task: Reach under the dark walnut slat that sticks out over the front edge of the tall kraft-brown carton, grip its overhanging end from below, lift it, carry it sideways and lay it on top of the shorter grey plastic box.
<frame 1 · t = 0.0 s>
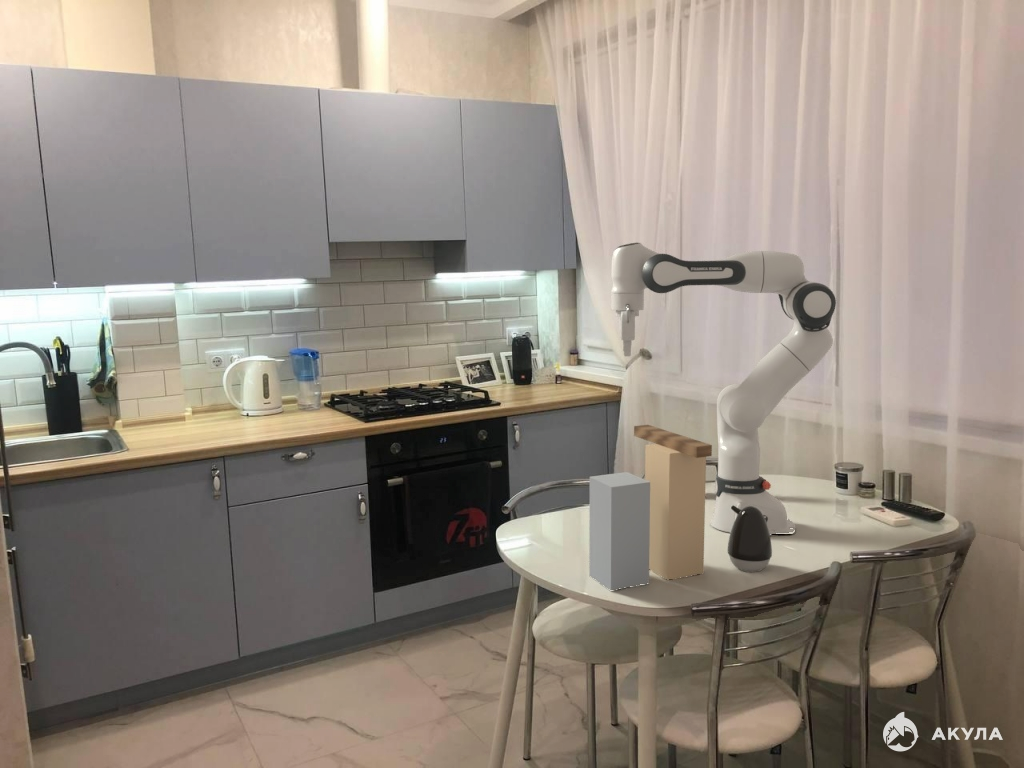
hand: (626, 354, 223), 48 cm above the table, tool pointing down, fingers open, 8 cm apart
pump dispenser: (748, 568, 195), on the table
carton: (673, 569, 194), on the table
slat: (670, 445, 192), point 30 cm above the table, touching carton
grey box: (618, 580, 189), on the table
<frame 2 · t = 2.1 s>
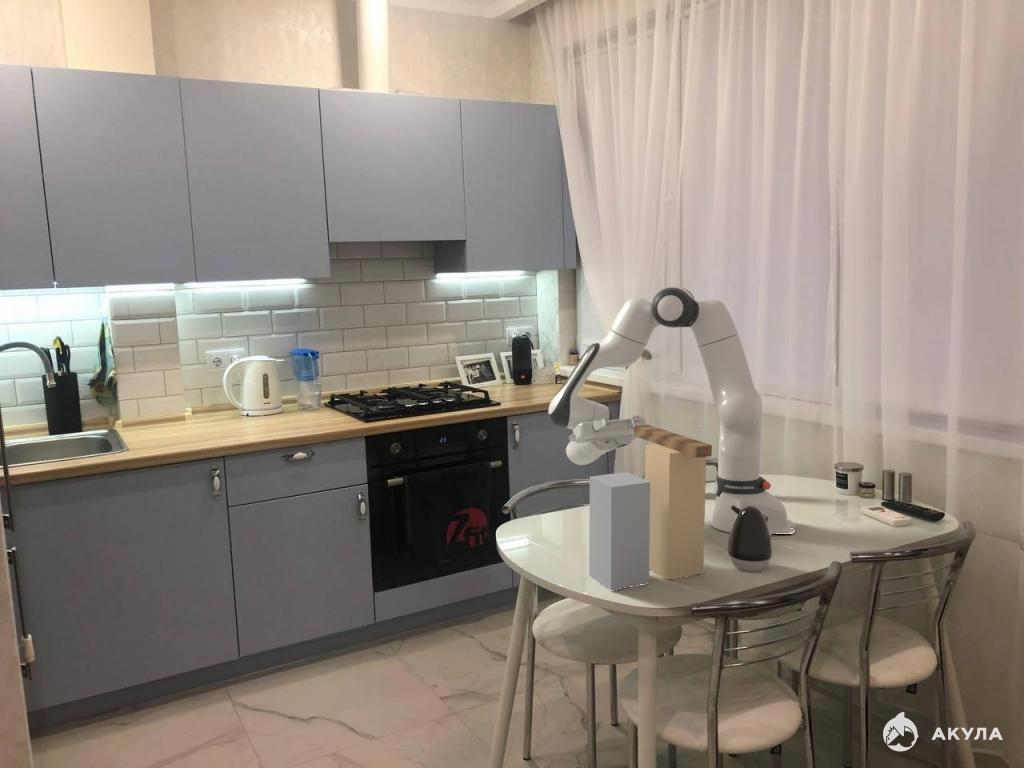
hand: (623, 419, 211), 32 cm above the table, tool pointing upward, fingers open, 8 cm apart
nothing on the table moved.
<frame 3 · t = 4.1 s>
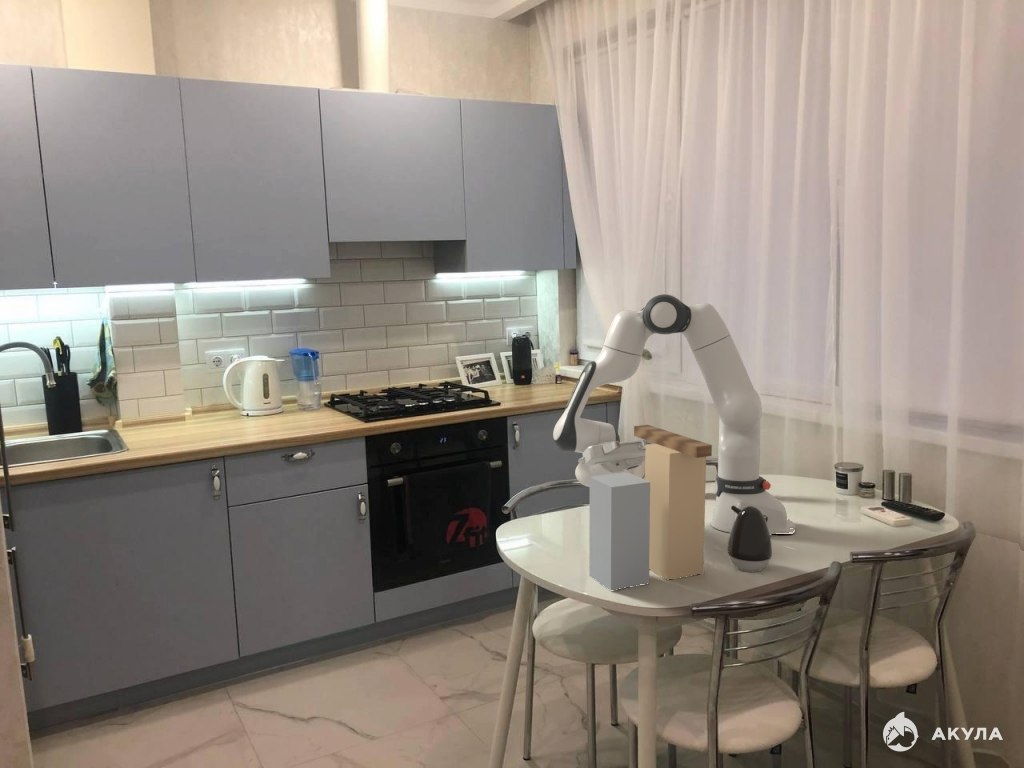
hand: (633, 442, 207), 28 cm above the table, tool pointing upward, fingers open, 8 cm apart
nothing on the table moved.
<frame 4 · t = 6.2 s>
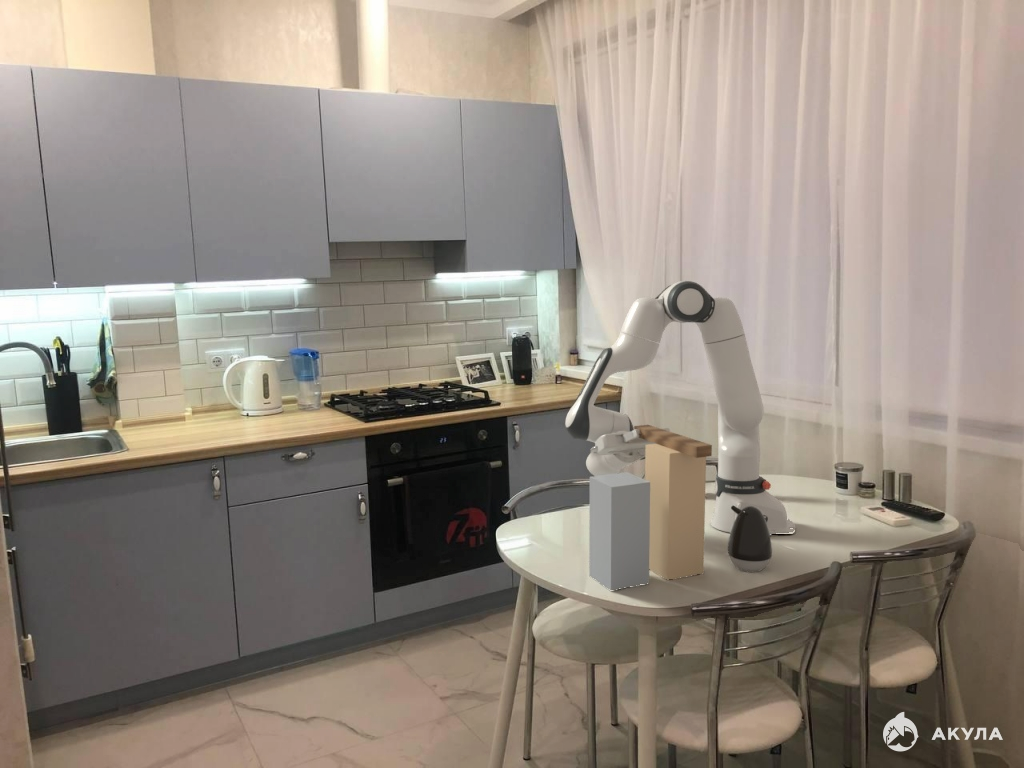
hand: (648, 430, 201), 32 cm above the table, tool pointing upward, fingers closed on slat, 4 cm apart
slat: (670, 445, 192), point 30 cm above the table, touching carton, gripper
everything else where it was.
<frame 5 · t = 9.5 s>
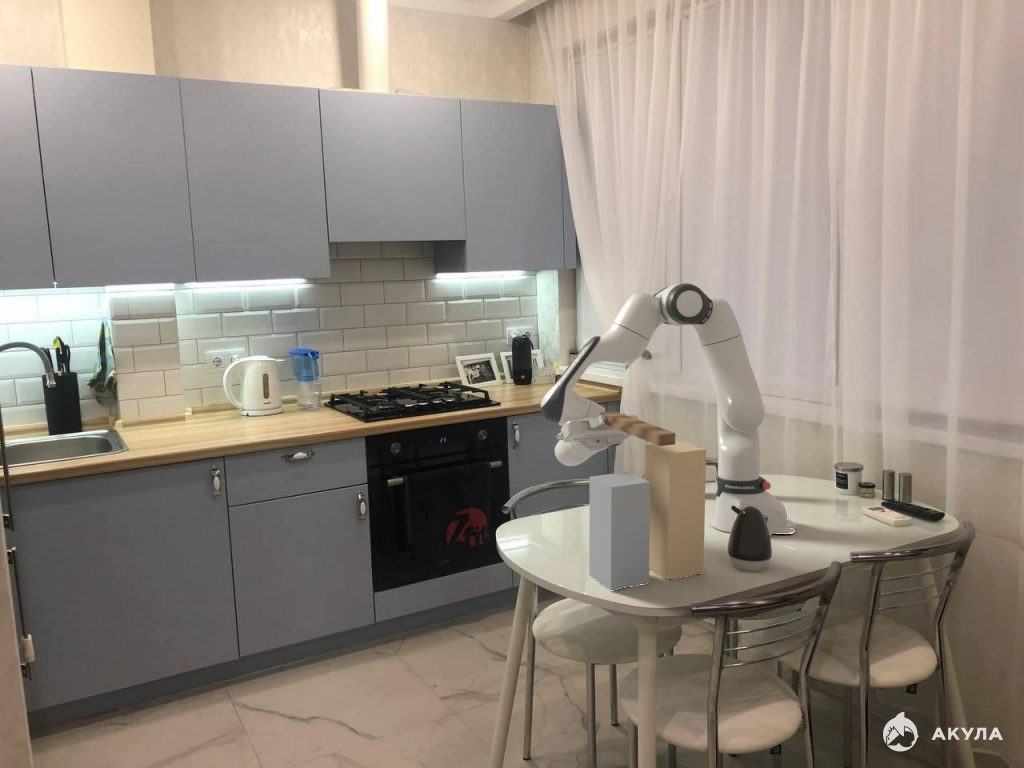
hand: (614, 417, 196), 36 cm above the table, tool pointing upward, fingers closed on slat, 4 cm apart
slat: (635, 432, 188), point 34 cm above the table, touching gripper
everything else where it was.
when the fingers open (27 cm above the table, at t = 13.1 s): slat drops 1 cm, resting on grey box.
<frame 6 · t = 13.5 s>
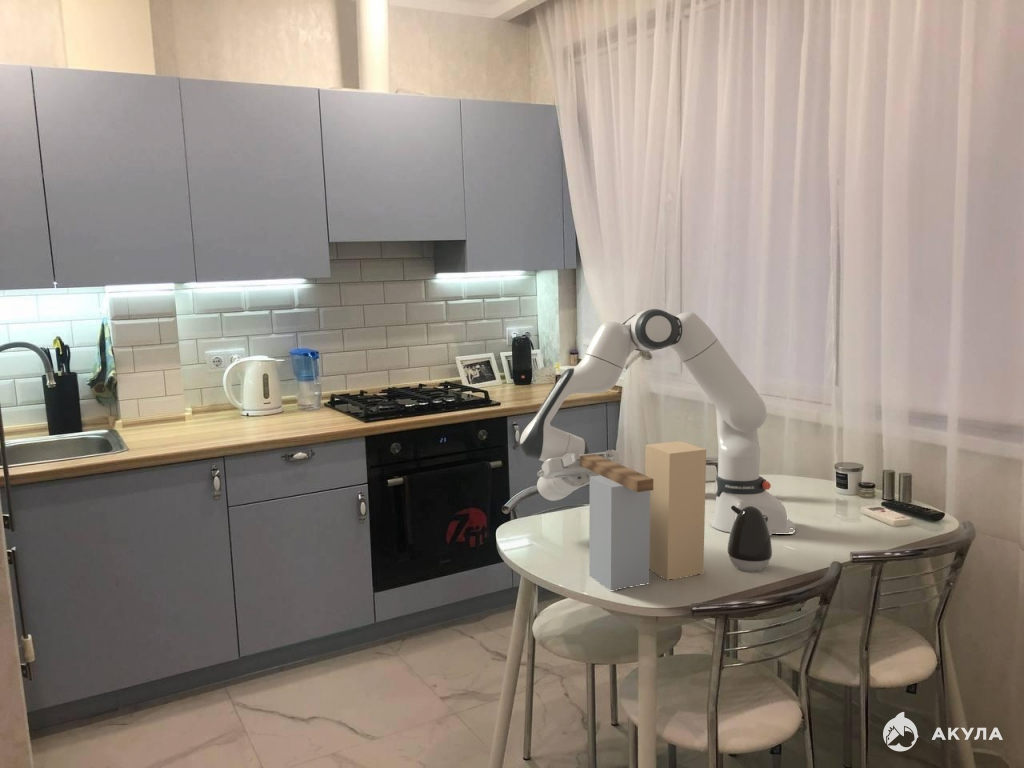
hand: (594, 454, 195), 27 cm above the table, tool pointing upward, fingers open, 8 cm apart
slat: (614, 477, 187), point 24 cm above the table, touching grey box
everything else where it was.
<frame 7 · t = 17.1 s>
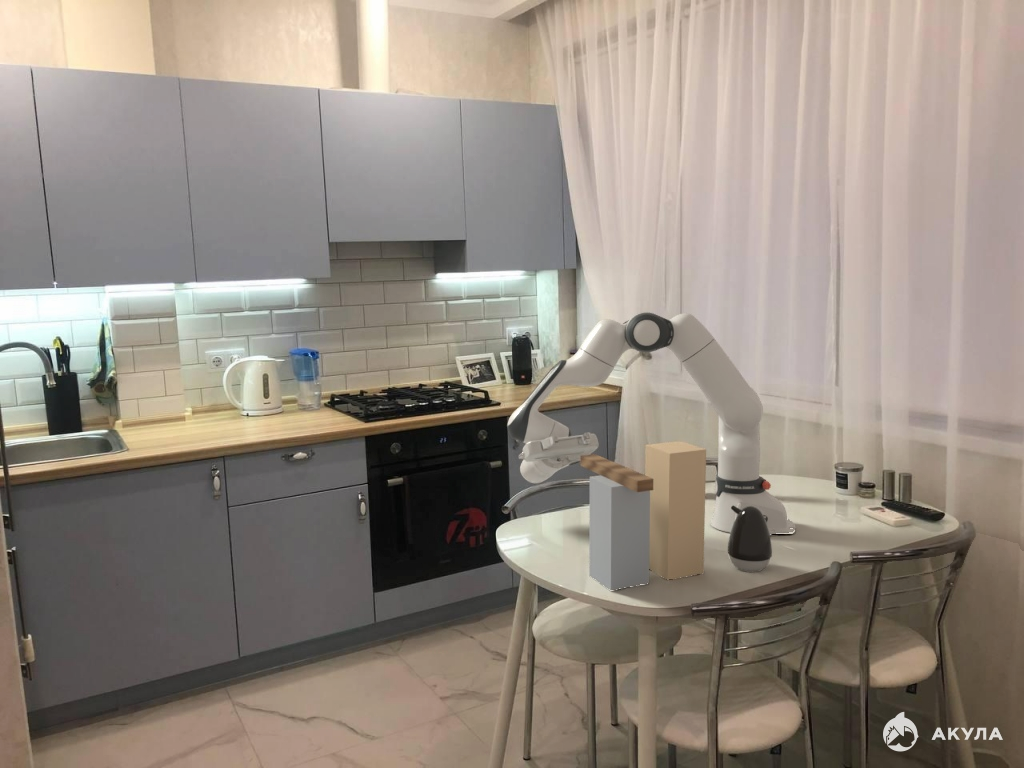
hand: (571, 437, 206), 29 cm above the table, tool pointing upward, fingers open, 8 cm apart
nothing on the table moved.
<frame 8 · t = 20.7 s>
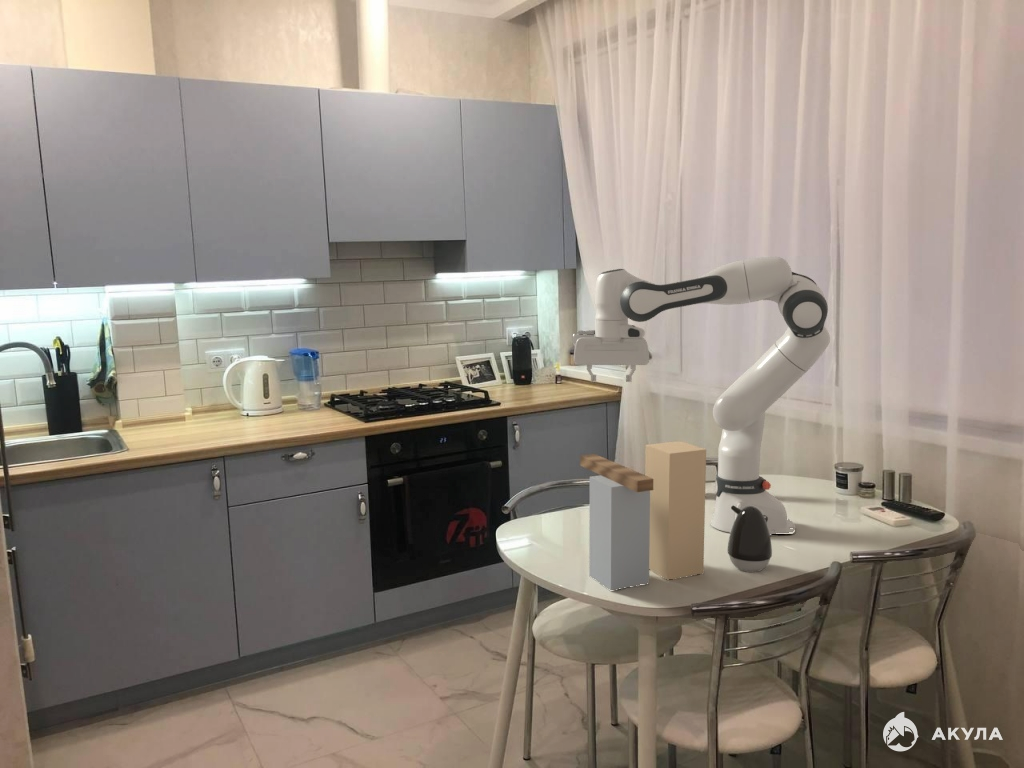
hand: (611, 381, 220), 41 cm above the table, tool pointing down, fingers open, 8 cm apart
nothing on the table moved.
at the end: slat inside the target area on the grey box (0.3 cm from its centre), point 24.0 cm above the grey box's base; slat touching grey box; the gripper is holding nothing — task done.
